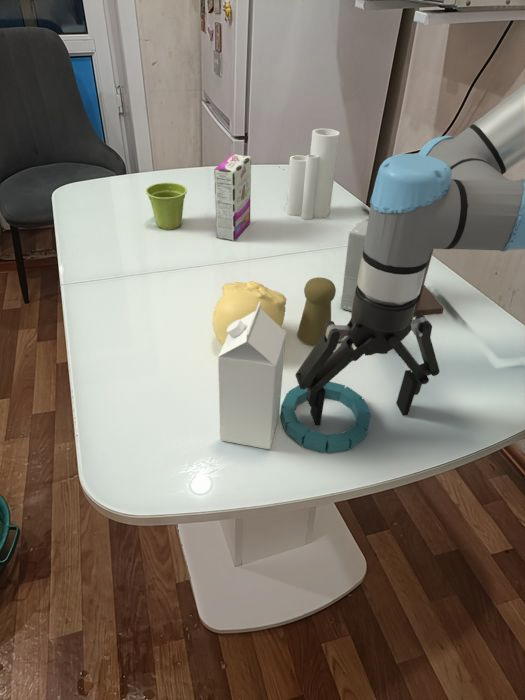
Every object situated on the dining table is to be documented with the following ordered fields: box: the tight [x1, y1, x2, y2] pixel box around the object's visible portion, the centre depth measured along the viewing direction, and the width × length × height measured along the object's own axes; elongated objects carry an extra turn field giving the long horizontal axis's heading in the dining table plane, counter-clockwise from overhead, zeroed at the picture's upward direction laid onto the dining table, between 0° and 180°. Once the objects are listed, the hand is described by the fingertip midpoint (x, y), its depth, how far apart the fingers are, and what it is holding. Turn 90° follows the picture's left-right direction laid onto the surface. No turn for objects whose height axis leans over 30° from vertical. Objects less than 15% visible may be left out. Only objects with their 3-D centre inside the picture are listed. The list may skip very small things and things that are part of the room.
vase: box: [285, 127, 340, 221], centre depth 126 cm, size 11×7×20 cm, turn 106°
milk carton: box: [217, 302, 287, 450], centre depth 67 cm, size 7×7×19 cm
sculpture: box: [211, 280, 287, 346], centre depth 85 cm, size 11×12×11 cm
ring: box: [279, 381, 372, 454], centre depth 74 cm, size 13×13×2 cm
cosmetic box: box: [340, 217, 368, 312], centre depth 95 cm, size 8×7×16 cm
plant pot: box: [145, 182, 188, 231], centre depth 121 cm, size 9×9×9 cm
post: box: [413, 249, 445, 317], centre depth 96 cm, size 9×9×15 cm
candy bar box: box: [213, 153, 252, 242], centre depth 118 cm, size 11×5×16 cm, turn 162°
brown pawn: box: [296, 276, 337, 347], centre depth 87 cm, size 6×6×11 cm
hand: (359, 414), depth 75 cm, fingers open, 13 cm apart
